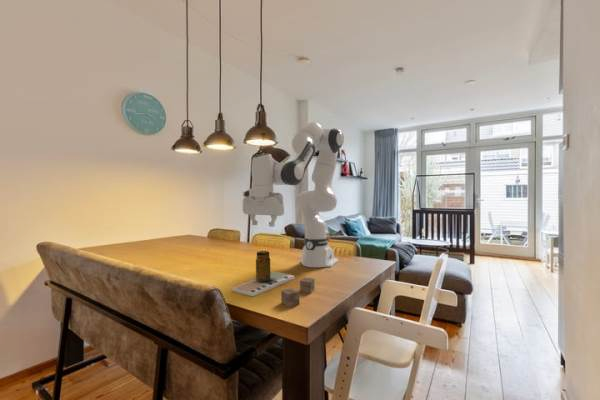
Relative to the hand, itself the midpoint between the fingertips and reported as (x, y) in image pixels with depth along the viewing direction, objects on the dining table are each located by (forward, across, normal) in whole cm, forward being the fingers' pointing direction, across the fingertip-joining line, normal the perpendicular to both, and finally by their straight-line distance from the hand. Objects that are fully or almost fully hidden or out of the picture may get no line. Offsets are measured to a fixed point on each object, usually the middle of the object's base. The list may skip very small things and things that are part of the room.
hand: (263, 225), depth 119 cm
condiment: (+23, -1, 0) cm, 23 cm away
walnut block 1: (+24, -22, +11) cm, 35 cm away
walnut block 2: (+25, -20, -3) cm, 32 cm away
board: (+24, -1, 0) cm, 24 cm away
